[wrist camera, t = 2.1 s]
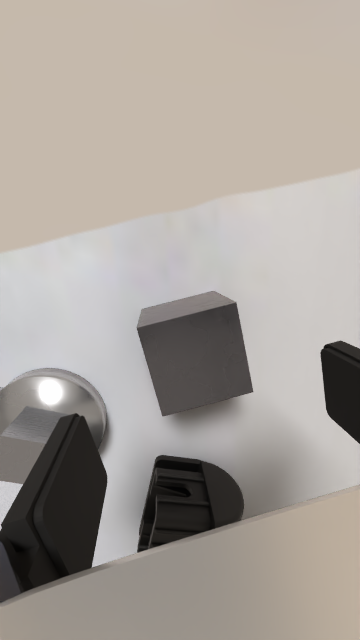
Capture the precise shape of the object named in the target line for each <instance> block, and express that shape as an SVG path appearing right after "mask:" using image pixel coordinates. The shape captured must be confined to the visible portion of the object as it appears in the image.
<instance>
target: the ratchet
mask: <svg viewBox="0 0 360 640" xmlns="http://www.w3.org/2000/svg"><path fill="white" fill-rule="evenodd" d="M75 413H78V414H79V415H80V416H82V415H83V416H84V417H85V419H86V421H87V424H88V426H89V429H90V432H91V434H92V437H93V439H94V442H95V445H96V447H97V450H98V448H99V446H100V443H101V440H102V437H103V434H104V430H105V427H106V419H107V415H106V408H105V405H104V402H103V400H102V397H101V396H100V394H99V393H98V391H97V390H96V389H95V388H94V386H92V385H91V384H90V383H89V382H88V381H87V380H85V379H84V378H82V377H80V376H79V375H77V374H74V373H72V372H69V371H66V370H62V369H55V368H44V369H37V370H32V371H29V372H26V373H24V374H22V375H20V376H18V377H17V378H15V379H14V380H13V381H11V382H10V383H9V384H8V385H7V386H6V387H4V388H2V387H0V481H6V482H13V483H19V484H24V482H25V480H26V479H27V477H28V475H29V473H30V471H31V470H32V468H33V466H34V464H35V462H36V461H37V459H38V457H39V455H40V453H41V451H42V450H43V448H44V446H45V444H46V442H47V441H48V439H49V437H50V435H51V433H52V432H53V430H54V428H55V426H56V424H57V423H58V421H59V419H60V418H61V417H64V416H67V415H71V414H75Z"/></svg>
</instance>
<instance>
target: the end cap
mask: <svg viewBox="0 0 360 640" xmlns="http://www.w3.org/2000/svg"><path fill="white" fill-rule="evenodd" d="M243 509H244V499H243V496H242V492H241V490H240V488H239V486H238V485H237V483H236V482H235V480H234V479H233V478H232V477H231V476H230V475H229V474H228V473H227V472H225V471H224V470H222V469H221V468H219V467H218V466H215V465H213V464H211V463H208V462H204V461H201V460H198V459H190V458H182V457H174V456H166V455H160V456H158V457H157V458H156V459H155V463H154V468H153V472H152V476H151V481H150V485H149V489H148V494H147V498H146V502H145V507H144V511H143V515H142V520H141V524H140V529H139V535H140V537H139V542H138V550H137V553H139V552H142V551H145V550H148V549H151V548H155V547H158V546H161V545H164V544H167V543H171V542H174V541H177V540H180V539H183V538H187V537H190V536H193V535H196V534H199V533H203V532H206V531H209V530H212V529H215V528H219V527H222V526H225V525H228V524H232V523H235V522H238V521H240V520H241V517H242V514H243Z"/></svg>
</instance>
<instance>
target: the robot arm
mask: <svg viewBox="0 0 360 640" xmlns="http://www.w3.org/2000/svg"><path fill="white" fill-rule="evenodd" d="M321 362H322V372H323V382H324V392H325V402H326V410H327V413H328V415H329V416H330V417H331V418H332V419H333V420H334V421H335V422H336V423H337V424H338V425H339V426H340V427H342V428H343V429H344V430H345V431H346V432H347V433H348V434H349V435H350V436H352V437H353V438H354V439H355V440H356V441H357V442H358V443H359V444H360V349H359V348H357V347H354V346H352V345H350V344H348V343H345V342H343V341H337V342H334V343H330V344H326V345H325V346H324V349H322V350H321ZM106 487H107V473H106V470H105V468H104V465H103V463H102V460H101V457H100V455H99V452H98V450H97V447H96V445H95V442H94V439H93V437H92V434H91V432H90V429H89V426H88V424H87V421H86V419H85V417H84V416H83V415H82V416H80V415H79V414H78V413H75V414H71V415H67V416H64V417H61V418H60V419H59V421H58V423H57V424H56V426H55V428H54V430H53V432H52V433H51V435H50V437H49V439H48V441H47V442H46V444H45V446H44V448H43V450H42V451H41V453H40V455H39V457H38V459H37V461H36V462H35V464H34V466H33V468H32V470H31V471H30V473H29V475H28V477H27V479H26V480H25V482H24V484H23V486H22V488H21V490H20V491H19V493H18V495H17V497H16V499H15V500H14V502H13V504H12V506H11V508H10V509H9V511H8V513H7V515H6V517H5V519H4V520H3V522H2V524H1V526H2V529H1V531H0V640H360V485H357V486H353V487H350V488H346V489H343V490H340V491H336V492H333V493H330V494H326V495H323V496H320V497H317V498H313V499H310V500H307V501H303V502H300V503H297V504H294V505H290V506H287V507H284V508H280V509H277V510H274V511H271V512H267V513H264V514H261V515H258V516H254V517H251V518H248V519H245V520H241V521H238V522H235V523H232V524H228V525H225V526H222V527H219V528H215V529H212V530H209V531H206V532H203V533H199V534H196V535H193V536H190V537H187V538H183V539H180V540H177V541H174V542H171V543H167V544H164V545H161V546H158V547H155V548H151V549H148V550H145V551H142V552H139V553H135V554H132V555H129V556H126V557H123V558H120V559H117V560H114V561H111V562H108V563H105V564H102V565H99V566H96V567H93V568H91V567H92V562H93V557H94V551H95V546H96V541H97V535H98V530H99V524H100V519H101V514H102V508H103V503H104V498H105V492H106Z"/></svg>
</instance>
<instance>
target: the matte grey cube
mask: <svg viewBox="0 0 360 640" xmlns="http://www.w3.org/2000/svg"><path fill="white" fill-rule="evenodd" d="M137 330H138V334H139V337H140V341H141V344H142V348H143V351H144V354H145V358H146V361H147V365H148V368H149V372H150V375H151V378H152V382H153V385H154V389H155V392H156V396H157V399H158V402H159V406H160V409H161V413H162V416H166V415H170V414H174V413H178V412H181V411H185V410H189V409H192V408H196V407H200V406H203V405H207V404H211V403H214V402H218V401H222V400H226V399H229V398H233V397H237V396H240V395H244V394H248V393H251V392H253V388H252V383H251V377H250V372H249V367H248V361H247V356H246V351H245V346H244V340H243V335H242V330H241V325H240V319H239V314H238V309H237V304H236V302H235V301H233V300H231V299H229V298H227V297H225V296H223V295H221V294H219V293H217V292H215V291H211V292H207V293H203V294H200V295H196V296H192V297H188V298H184V299H180V300H176V301H172V302H168V303H164V304H160V305H156V306H152V307H148V308H144V309H142V310H141V314H140V318H139V321H138V325H137Z"/></svg>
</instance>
